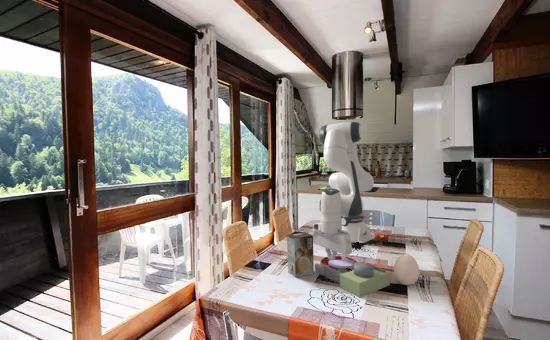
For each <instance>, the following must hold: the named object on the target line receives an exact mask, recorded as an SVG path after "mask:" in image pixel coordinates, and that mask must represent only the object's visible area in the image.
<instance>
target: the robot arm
mask: <svg viewBox="0 0 550 340" xmlns="http://www.w3.org/2000/svg"><path fill="white" fill-rule="evenodd" d="M363 133H364V132H363V128H362V125H361V123H360V122H357V121H350V122H347V121H345V122H343V121H342V122H338V123H332V124H326V125H323V126H321V127H320V129H319V130H318V139H319V142H320V143H321V144H322V145H323V162H324V164H325V165H326V166H327V167H328V168H330V169H331V170H333V171H337V172H332V173H331V174H330V175H329V178H328V185H329V187H330V188H326V189H324V190H322V192H321V198H320V199H319V211H320V213H321V217H320V221H319V222H316V223H312V229H313V230H312V235H313V245H317V246H320V247H322V248H324V249H325V252H326V254H327V259H328V260H336V256H337V254H340V255H341V254H342V255H343V256H344V255H345V256H347V255H350V254H351V253H352V252H353V246H352V243H356V242H359V244H360V243H361V244H365V243H368V242H369V241H371V240H374V239H375V238H376V236H375V235H374V234H373V233H372V232H371V231H372V229H371V228H370V226H369V225H367V224H366V223H365V222H364V221H363V220H365V219H366V215H362V214H363V212H364V201H363V199H362V196H361V193H363V192H369V191H371V190H372V189H373V187H374V184H375V181H374V177H373V176H372V174H370V173H369V172H368V171H366V170H365V169H364V168H363V167H362V166H361V164H360V161H359V158H358V151H357V142H360V141H361V140H362V137H363Z"/></svg>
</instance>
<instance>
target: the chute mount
mask: <svg viewBox="0 0 550 340" xmlns="http://www.w3.org/2000/svg"><path fill="white" fill-rule="evenodd" d="M341 260H344V261H348V262H351V263H353V267H352V268H350V269H351V270H354V264H355V263H358V262H357V261H354V260H352V259H349V258H347V257H346V256H344V255H341ZM351 270H350V271H351ZM314 274H316V275H320V276H324V277H326V278H328V279H330V280H331V281H334V282H335V283H338V284H340V274H343V273H341V272H339V271H337V270H335V269H334V268H333V267H331V266H329V265H326V264H321V263H316V262H315V263H314Z"/></svg>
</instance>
